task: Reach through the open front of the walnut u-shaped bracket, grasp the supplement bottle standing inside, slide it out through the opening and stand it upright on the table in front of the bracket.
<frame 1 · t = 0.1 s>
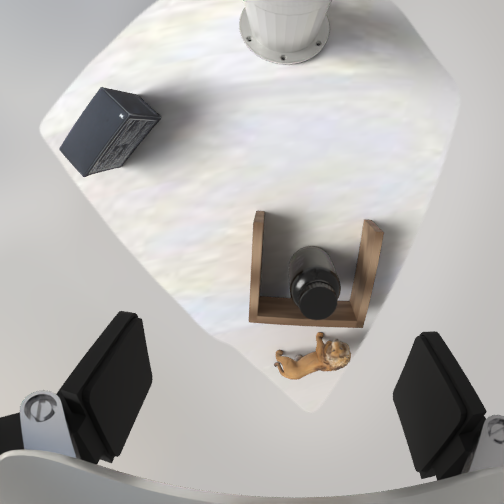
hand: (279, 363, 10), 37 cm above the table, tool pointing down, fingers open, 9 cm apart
lion figurine: (309, 342, 53), on the table
small box: (127, 130, 42), on the table
supplement bottle: (309, 264, 48), on the table
walnut u-shaped bracket: (310, 259, 47), on the table
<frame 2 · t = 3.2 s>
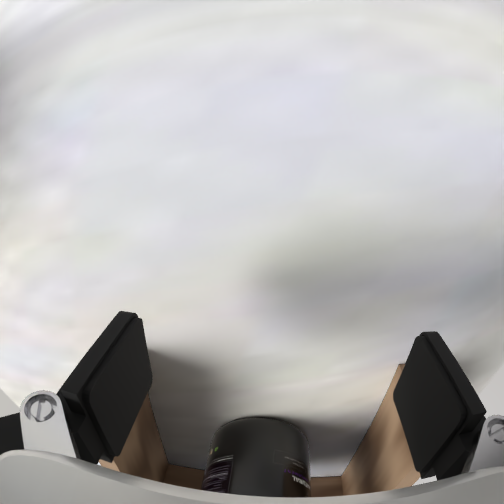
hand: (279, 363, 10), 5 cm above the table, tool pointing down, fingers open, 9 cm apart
supplement bottle: (260, 439, 19), on the table
walnut u-shaped bracket: (260, 434, 18), on the table
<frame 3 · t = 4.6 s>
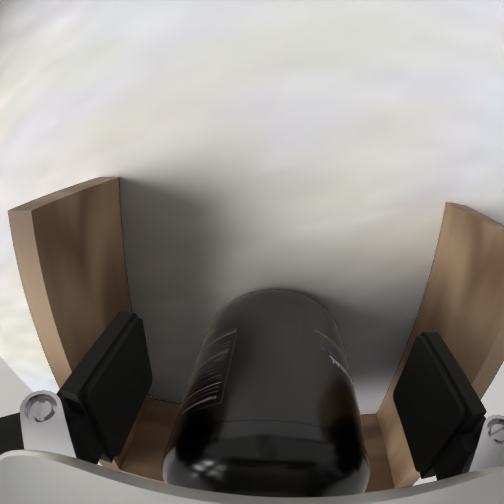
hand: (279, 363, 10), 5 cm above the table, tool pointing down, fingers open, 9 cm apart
supplement bottle: (272, 339, 16), on the table
walnut u-shaped bracket: (274, 326, 15), on the table
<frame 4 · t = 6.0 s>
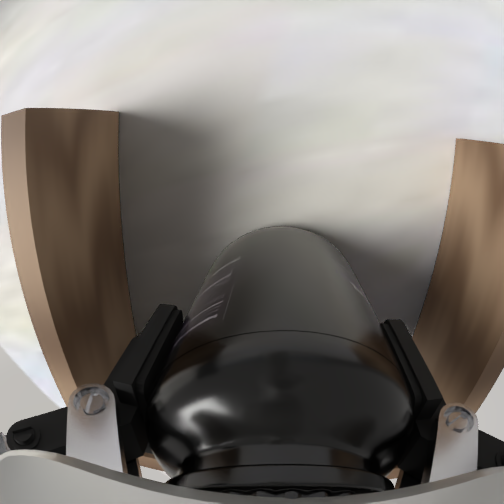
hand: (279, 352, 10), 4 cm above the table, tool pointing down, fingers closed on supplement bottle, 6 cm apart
supplement bottle: (279, 290, 14), on the table, touching gripper
walnut u-shaped bracket: (281, 272, 14), on the table
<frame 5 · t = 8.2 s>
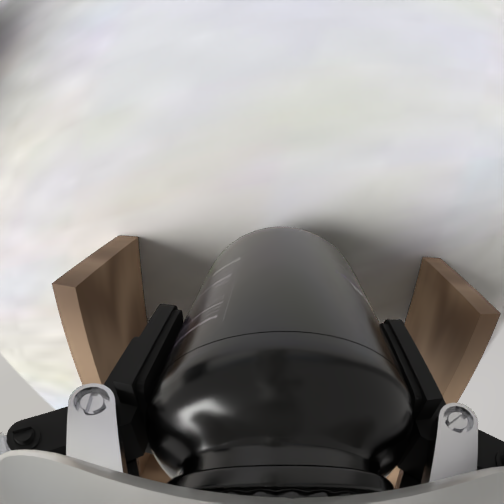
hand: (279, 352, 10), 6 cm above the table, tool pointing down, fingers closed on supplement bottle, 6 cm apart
supplement bottle: (279, 291, 14), point 1 cm above the table, touching gripper
walnut u-shaped bracket: (272, 359, 18), on the table
when the fingers open (5 cm above the table, at t = 10.5 s): supplement bottle stays where it is, on the table.
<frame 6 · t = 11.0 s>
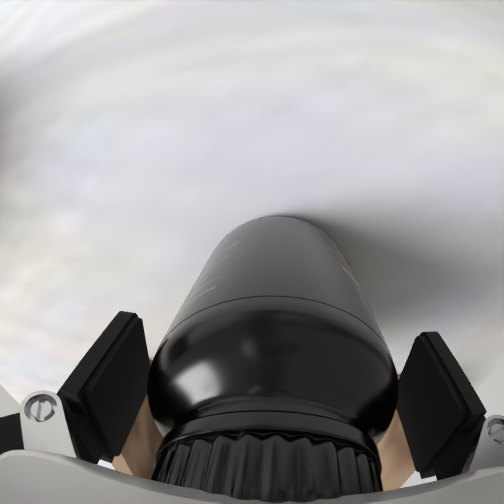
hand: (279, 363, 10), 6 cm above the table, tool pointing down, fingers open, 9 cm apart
supplement bottle: (276, 278, 15), on the table
walnut u-shaped bracket: (261, 438, 20), on the table
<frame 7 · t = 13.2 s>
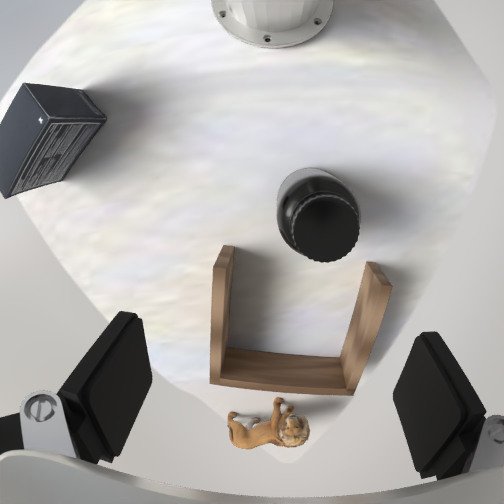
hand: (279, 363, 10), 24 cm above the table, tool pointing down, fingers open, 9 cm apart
lion figurine: (266, 406, 43), on the table
small box: (70, 134, 31), on the table
supplement bottle: (309, 198, 32), on the table
walnut u-shaped bracket: (293, 308, 36), on the table
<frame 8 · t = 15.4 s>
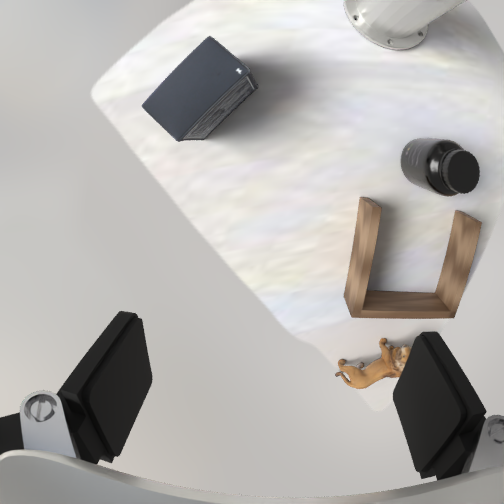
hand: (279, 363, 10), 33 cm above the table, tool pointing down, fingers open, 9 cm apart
lion figurine: (371, 349, 49), on the table
small box: (213, 98, 37), on the table
supplement bottle: (419, 161, 38), on the table
walnut u-shaped bracket: (406, 249, 42), on the table
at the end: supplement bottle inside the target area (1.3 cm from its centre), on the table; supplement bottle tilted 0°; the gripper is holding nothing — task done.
